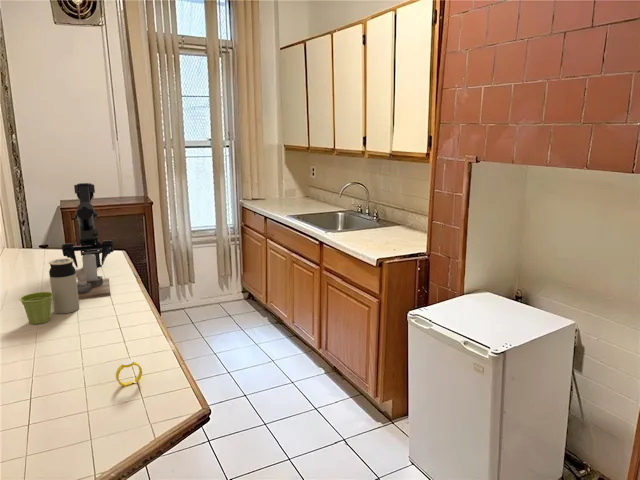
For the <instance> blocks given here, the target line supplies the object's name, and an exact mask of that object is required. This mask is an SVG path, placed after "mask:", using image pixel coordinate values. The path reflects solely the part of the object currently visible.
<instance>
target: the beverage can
mask: <svg viewBox="0 0 640 480" xmlns="http://www.w3.org/2000/svg"><path fill="white" fill-rule="evenodd" d="M81 259H82V260H83V261H82V269H83V274H86V280H87V281H95V280H98V276H99V275H98V267H97V266H96V256H95V254H86V255H82V258H81Z"/></svg>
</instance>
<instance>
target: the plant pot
mask: <svg viewBox="0 0 640 480" xmlns="http://www.w3.org/2000/svg"><path fill="white" fill-rule="evenodd" d="M52 296H53V294H52V292H49V291H40V292H32V293H29V294H25V295H22V296H21V297H19V301H20V302H21V304H22V305H23V308H24V310H25V313H26V317H27V319H28V320H27V321H28V324H31V325H37V324H45V323H47V322H49V321H50V320H51V308H52V307H51V304H52V301H53V299H52Z"/></svg>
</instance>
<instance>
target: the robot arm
mask: <svg viewBox="0 0 640 480" xmlns="http://www.w3.org/2000/svg"><path fill="white" fill-rule="evenodd" d="M73 188H74V189H73V190H74V194H75V195H76V197H77V200H78V201H79V204H78V205H77V207H76V211H74V212H75V214H74V215H75V216H74V217H75V221H77V222H78V226H79V227H78V229H79V236H78V237H79V245H74V244H73V242H69V243H63V244H62V245H61V252H62V254H63V257H67V258H70V259H73V264H74V265H75V269H76V268H78V261H77V256H76V254H75V253H76V252H80V256H82V257H83V255H86V254H95V256H96V266H97V268H100V267H102V266H103V265H104V263H105V261H106V259H107V257H108V255H110V254H111V253H114V250H115V249H114V241H113V240H112V239H109V240H108V239H107V240H102V243H101V241H100V240H99V237H100V235H99V234H100V233H99V228H95V219H97V217H98V212H97V211H96V210H94V205H93V204H92V201H93V200H94V197H95V195H94V194H95V193H96V190H95V184H93V183H89V182H80V183H77V184H74V185H73ZM100 255H101V256H100ZM100 257H101V258H100ZM82 262H83V260H82Z"/></svg>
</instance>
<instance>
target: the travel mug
mask: <svg viewBox="0 0 640 480" xmlns="http://www.w3.org/2000/svg"><path fill="white" fill-rule="evenodd" d="M48 264H49V266H50V267H49V268H50V269H49V271H48V272H49V281H50V282H49V283H50V289H51V290H50V291H51V293H52V294H53V296H52V306H53V312H54V313H55V314H60V315H61V314H62V315H63V314H71V313H74V312H76V311H77V310H79V309H80V302H79V301H80V299H78V290H77V282H78V280H77V274H76V273H77V272H76V267H74V265H73V264H74V262H73V259H71V258H68V257H67V258H66V257H65V258H63V257H62V258H57V259H52V260H50V261H49V262H48Z"/></svg>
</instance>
